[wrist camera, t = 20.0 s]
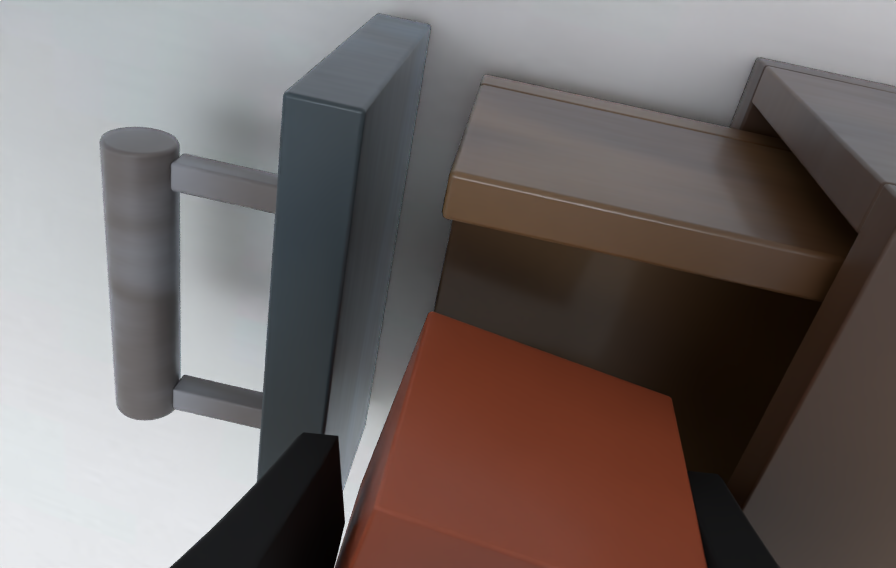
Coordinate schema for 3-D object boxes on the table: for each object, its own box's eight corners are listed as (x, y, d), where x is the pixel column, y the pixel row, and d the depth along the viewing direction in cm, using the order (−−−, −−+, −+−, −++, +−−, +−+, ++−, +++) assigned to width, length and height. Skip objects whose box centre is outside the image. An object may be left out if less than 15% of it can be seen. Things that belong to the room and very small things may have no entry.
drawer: (185, 383, 22) (61, 558, 16) (185, -30, 16) (-8, 28, 10) (783, 519, 21) (859, 745, 16) (1005, 148, 16) (1246, 303, 10)
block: (568, 555, 15) (572, 793, 11) (361, 484, 15) (291, 702, 11) (673, 396, 13) (722, 625, 9) (429, 308, 12) (373, 506, 9)
